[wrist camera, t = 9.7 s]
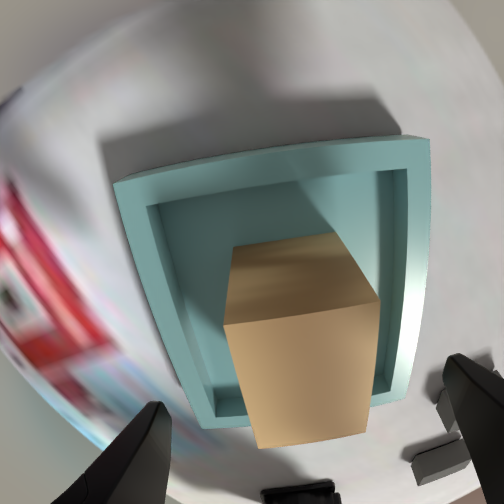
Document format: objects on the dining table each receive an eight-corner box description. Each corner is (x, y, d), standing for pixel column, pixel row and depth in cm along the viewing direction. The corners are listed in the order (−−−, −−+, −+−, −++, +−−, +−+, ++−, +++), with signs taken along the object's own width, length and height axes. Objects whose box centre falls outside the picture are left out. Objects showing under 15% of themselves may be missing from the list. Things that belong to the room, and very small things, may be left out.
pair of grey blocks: (410, 465, 22) (417, 486, 19) (442, 390, 17) (456, 417, 15) (456, 448, 21) (465, 468, 19) (496, 369, 17) (512, 392, 15)
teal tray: (205, 404, 17) (201, 428, 15) (130, 174, 12) (112, 184, 10) (394, 376, 16) (404, 398, 15) (407, 134, 11) (429, 138, 9)
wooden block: (256, 361, 15) (258, 448, 10) (233, 247, 13) (223, 325, 8) (339, 349, 15) (365, 432, 10) (335, 231, 12) (380, 300, 8)
